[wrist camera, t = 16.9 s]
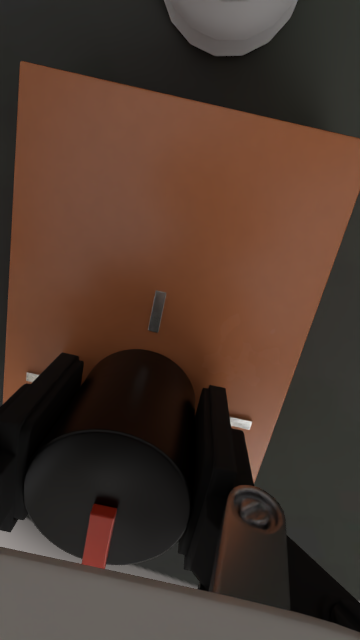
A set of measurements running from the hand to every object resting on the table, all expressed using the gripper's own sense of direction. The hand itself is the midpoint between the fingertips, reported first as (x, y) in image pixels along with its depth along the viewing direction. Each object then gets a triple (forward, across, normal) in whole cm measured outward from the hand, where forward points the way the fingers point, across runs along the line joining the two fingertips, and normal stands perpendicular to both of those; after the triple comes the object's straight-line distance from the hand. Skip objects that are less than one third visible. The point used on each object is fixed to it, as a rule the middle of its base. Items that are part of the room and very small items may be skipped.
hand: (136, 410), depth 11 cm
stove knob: (+1, 0, 0) cm, 1 cm away
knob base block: (+4, 0, -3) cm, 5 cm away
